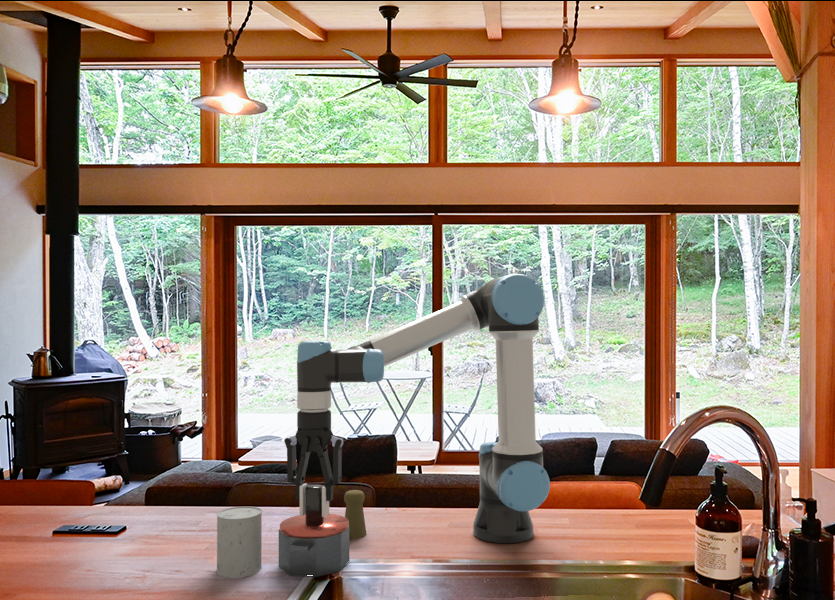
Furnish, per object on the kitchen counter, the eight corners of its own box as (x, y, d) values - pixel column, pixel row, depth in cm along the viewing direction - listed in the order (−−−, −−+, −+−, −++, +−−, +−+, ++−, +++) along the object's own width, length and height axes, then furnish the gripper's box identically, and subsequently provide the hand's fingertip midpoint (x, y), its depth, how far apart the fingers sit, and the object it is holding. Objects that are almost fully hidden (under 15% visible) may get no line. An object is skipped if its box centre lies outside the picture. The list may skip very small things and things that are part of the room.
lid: (357, 527, 152) (356, 480, 152) (336, 550, 137) (336, 497, 137) (295, 524, 155) (295, 477, 155) (268, 546, 140) (268, 494, 140)
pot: (357, 551, 153) (357, 516, 153) (331, 582, 135) (331, 543, 135) (299, 547, 156) (299, 513, 156) (266, 577, 138) (266, 539, 138)
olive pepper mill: (362, 539, 162) (362, 494, 162) (339, 537, 163) (339, 493, 163) (369, 531, 168) (369, 488, 168) (346, 530, 169) (346, 487, 169)
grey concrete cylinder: (221, 562, 147) (222, 507, 147) (264, 560, 148) (265, 505, 148) (212, 578, 137) (212, 519, 138) (258, 577, 138) (258, 518, 139)
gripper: (356, 408, 149) (357, 511, 148) (284, 406, 152) (284, 508, 151) (346, 412, 141) (347, 521, 140) (270, 411, 145) (270, 517, 144)
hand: (314, 514), depth 146 cm, fingers open, 4 cm apart
